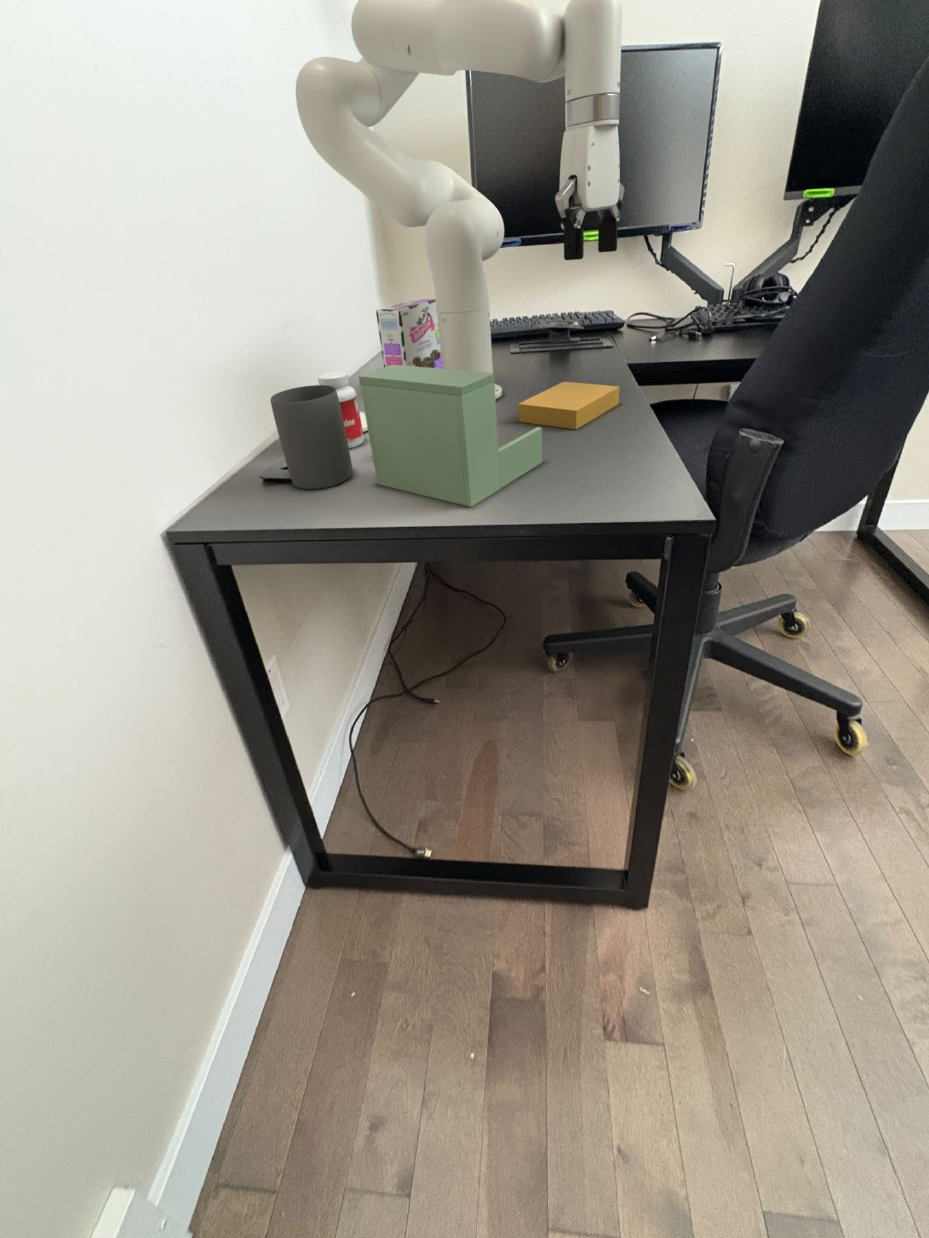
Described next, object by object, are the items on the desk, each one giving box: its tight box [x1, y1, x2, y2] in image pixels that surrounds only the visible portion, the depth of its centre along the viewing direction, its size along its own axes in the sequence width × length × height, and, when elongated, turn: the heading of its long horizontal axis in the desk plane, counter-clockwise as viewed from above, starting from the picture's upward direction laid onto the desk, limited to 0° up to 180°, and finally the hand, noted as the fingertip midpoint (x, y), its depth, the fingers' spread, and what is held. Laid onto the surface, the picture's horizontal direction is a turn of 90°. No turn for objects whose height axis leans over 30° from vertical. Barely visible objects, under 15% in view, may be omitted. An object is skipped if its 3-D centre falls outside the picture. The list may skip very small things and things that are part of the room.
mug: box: [270, 384, 353, 490], centre depth 86 cm, size 14×9×12 cm
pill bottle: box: [317, 370, 365, 449], centre depth 97 cm, size 6×6×11 cm
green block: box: [358, 365, 543, 508], centre depth 81 cm, size 17×17×14 cm
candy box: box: [375, 298, 443, 369], centre depth 120 cm, size 14×6×16 cm, turn 148°
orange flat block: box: [517, 381, 620, 430], centre depth 103 cm, size 15×11×3 cm
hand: (591, 255), depth 95 cm, fingers open, 9 cm apart
